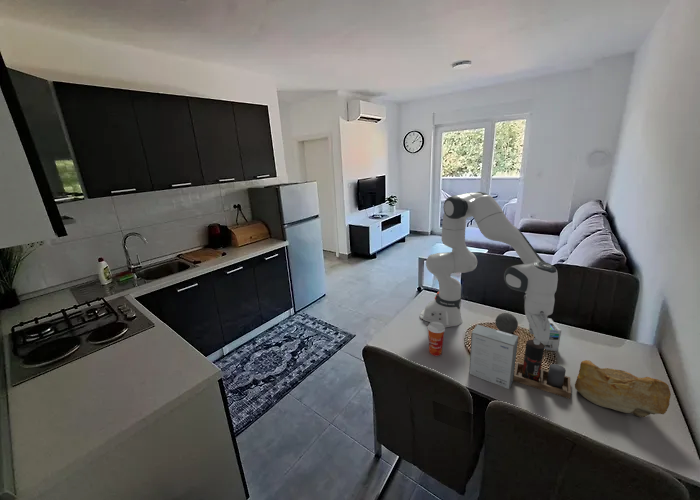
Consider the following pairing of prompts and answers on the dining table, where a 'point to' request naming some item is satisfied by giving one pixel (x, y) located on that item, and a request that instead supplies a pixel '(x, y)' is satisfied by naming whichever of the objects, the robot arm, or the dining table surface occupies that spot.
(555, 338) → the light bulb box
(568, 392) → the walnut rack
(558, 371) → the black rubber plug
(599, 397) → the rough brown rock
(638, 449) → the dining table surface
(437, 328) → the red and orange canister
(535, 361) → the deodorant
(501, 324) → the decorative ball
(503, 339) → the hard drive box
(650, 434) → the dining table surface
